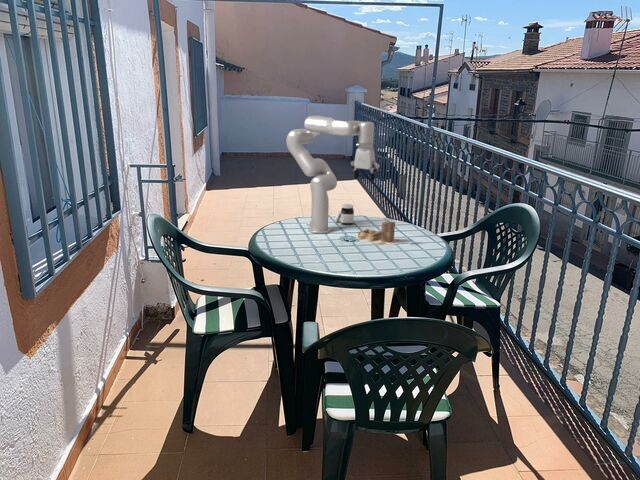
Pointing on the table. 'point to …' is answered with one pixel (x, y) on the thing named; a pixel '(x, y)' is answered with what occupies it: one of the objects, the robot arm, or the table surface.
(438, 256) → the table surface
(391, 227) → the walnut block
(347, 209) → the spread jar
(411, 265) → the table surface
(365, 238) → the pocket board
